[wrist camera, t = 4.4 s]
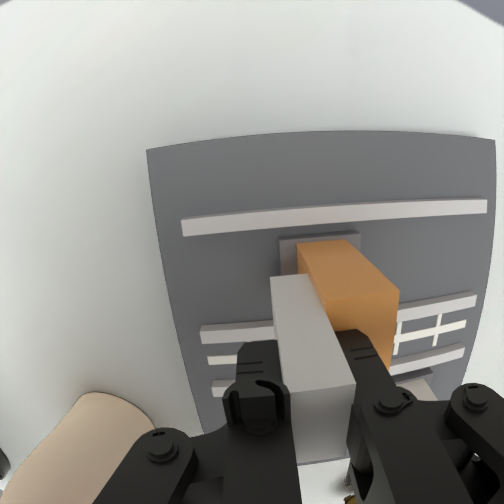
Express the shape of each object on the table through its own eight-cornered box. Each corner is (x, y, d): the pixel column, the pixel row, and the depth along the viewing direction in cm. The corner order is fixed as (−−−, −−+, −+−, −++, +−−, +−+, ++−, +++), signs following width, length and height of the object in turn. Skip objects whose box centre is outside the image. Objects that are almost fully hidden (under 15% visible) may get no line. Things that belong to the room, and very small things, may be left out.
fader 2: (370, 418, 19) (398, 492, 13) (377, 378, 18) (415, 457, 12) (417, 406, 19) (453, 472, 13) (428, 366, 18) (476, 434, 12)
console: (217, 452, 23) (215, 476, 21) (157, 150, 16) (141, 149, 14) (434, 418, 23) (445, 437, 20) (476, 139, 16) (502, 140, 13)
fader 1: (282, 309, 17) (300, 399, 10) (277, 236, 16) (297, 296, 9) (354, 301, 17) (405, 380, 10) (355, 230, 15) (422, 281, 9)
